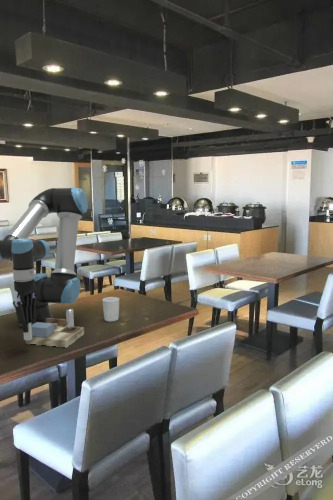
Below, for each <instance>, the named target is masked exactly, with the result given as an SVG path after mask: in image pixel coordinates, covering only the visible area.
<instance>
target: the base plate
mask: <svg viewBox="0 0 333 500" xmlns="http://www.w3.org/2000/svg"><path fill="white" fill-rule="evenodd" d="M46 323H54V333H53V334H51V335H50V336H48V337H37V336H32V339H31V340H25V344H26V345H30V344H36V345H35V346H41V345H46V346H45V347H52V346H56V347H55V348H63V347H65V349H66V348H68V347H70V346H71V345H72V344H73V343H75V342H76V341H77V340H78V339H80V338H81V337H82V336H83V335H85V327H84V326H74V331H67V323H66V318H54V317H53V318H46ZM69 345H70V346H69Z"/></svg>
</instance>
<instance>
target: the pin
mask: <svg viewBox="0 0 333 500" xmlns="http://www.w3.org/2000/svg"><path fill="white" fill-rule="evenodd" d="M74 316H75V315H74V309H73V308H66V309H65V319H66V326H67V331H74V327H75V321H74V318H75V317H74Z"/></svg>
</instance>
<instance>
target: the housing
mask: <svg viewBox="0 0 333 500" xmlns="http://www.w3.org/2000/svg"><path fill="white" fill-rule="evenodd" d="M53 333H54V323H41V322H36V323H34V324H33V325H32V336H37V337H48V336H50V335H51V334H53Z"/></svg>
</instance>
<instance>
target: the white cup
mask: <svg viewBox="0 0 333 500" xmlns="http://www.w3.org/2000/svg"><path fill="white" fill-rule="evenodd" d="M102 310H103V319H104V321H106V322H117V321H118V320H119V313H120V297H116V296H109V297H104V298H102Z"/></svg>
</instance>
